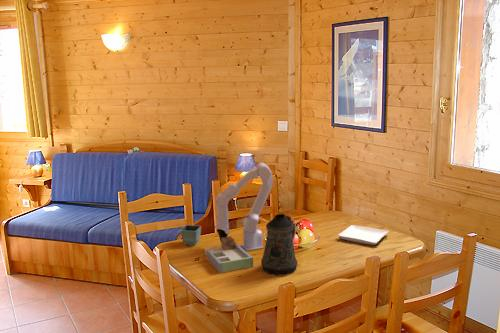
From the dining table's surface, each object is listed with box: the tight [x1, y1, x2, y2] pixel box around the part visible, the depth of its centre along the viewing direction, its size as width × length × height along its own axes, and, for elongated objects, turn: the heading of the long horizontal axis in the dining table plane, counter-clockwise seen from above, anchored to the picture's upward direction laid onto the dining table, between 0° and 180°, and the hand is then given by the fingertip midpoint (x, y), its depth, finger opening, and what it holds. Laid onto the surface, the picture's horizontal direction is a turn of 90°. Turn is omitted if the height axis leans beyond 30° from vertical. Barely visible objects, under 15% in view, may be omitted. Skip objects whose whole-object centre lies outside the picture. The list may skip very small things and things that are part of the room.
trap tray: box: [204, 241, 254, 274], centre depth 234 cm, size 16×25×4 cm, turn 23°
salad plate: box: [337, 224, 389, 246], centre depth 261 cm, size 21×21×3 cm
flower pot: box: [179, 224, 202, 247], centre depth 255 cm, size 9×9×9 cm
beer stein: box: [260, 213, 298, 277], centre depth 222 cm, size 16×19×25 cm
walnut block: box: [220, 235, 235, 250], centre depth 242 cm, size 5×5×5 cm
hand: (223, 242), depth 247 cm, fingers closed
